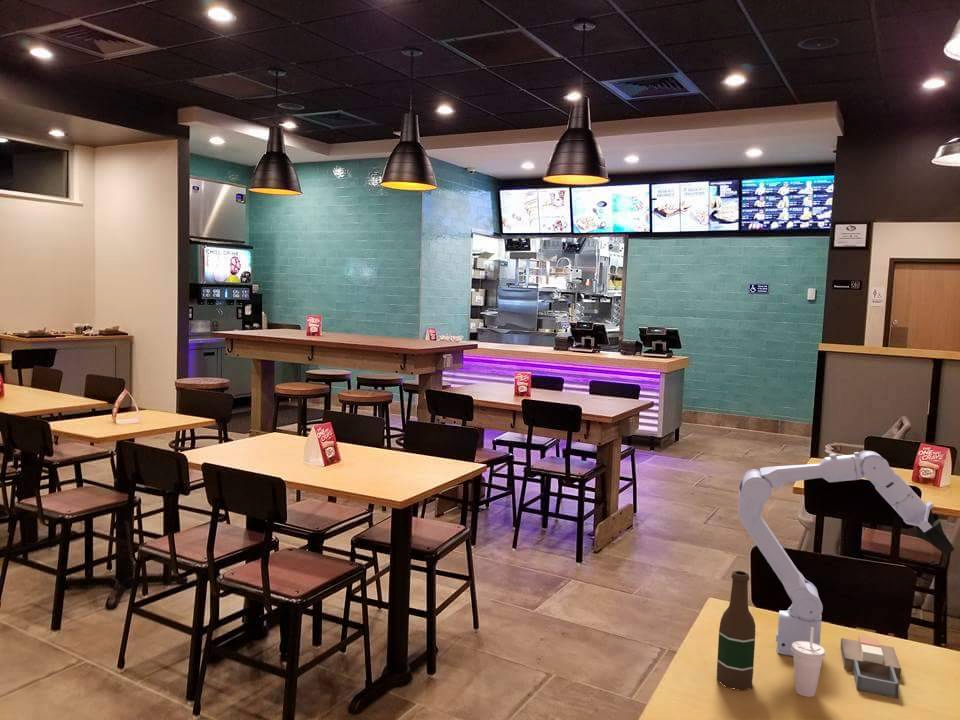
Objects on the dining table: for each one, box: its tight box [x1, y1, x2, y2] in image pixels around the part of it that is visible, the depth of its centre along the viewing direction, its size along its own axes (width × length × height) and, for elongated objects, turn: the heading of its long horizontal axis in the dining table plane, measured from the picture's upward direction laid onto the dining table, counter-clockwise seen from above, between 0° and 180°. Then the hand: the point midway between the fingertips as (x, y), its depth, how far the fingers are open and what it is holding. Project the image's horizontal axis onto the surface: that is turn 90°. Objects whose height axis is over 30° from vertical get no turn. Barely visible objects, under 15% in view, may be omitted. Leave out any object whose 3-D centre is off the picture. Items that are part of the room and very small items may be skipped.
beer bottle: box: [716, 570, 756, 691], centre depth 155 cm, size 8×8×24 cm
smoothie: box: [791, 627, 826, 698], centre depth 152 cm, size 6×6×14 cm
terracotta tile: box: [857, 635, 881, 651], centre depth 168 cm, size 4×4×2 cm
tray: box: [852, 658, 900, 699], centre depth 157 cm, size 8×9×3 cm
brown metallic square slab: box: [840, 637, 902, 680], centre depth 166 cm, size 11×11×2 cm
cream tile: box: [860, 644, 883, 664], centre depth 163 cm, size 4×4×2 cm
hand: (945, 545), depth 160 cm, fingers open, 7 cm apart
